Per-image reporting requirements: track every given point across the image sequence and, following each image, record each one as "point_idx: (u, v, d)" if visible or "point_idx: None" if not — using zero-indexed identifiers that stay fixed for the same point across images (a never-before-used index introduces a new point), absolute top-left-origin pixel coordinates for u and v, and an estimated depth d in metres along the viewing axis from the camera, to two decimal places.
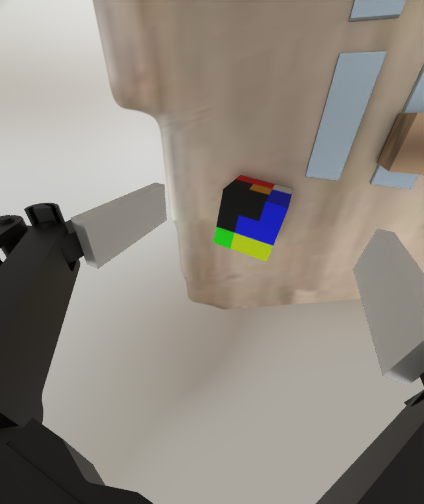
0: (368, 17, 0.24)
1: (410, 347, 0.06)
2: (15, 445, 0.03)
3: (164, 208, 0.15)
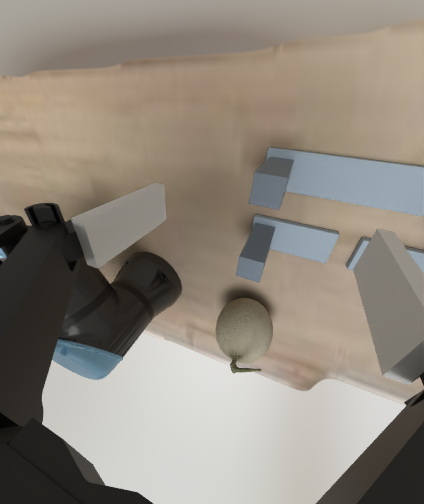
0: None
1: (410, 347, 0.06)
2: (15, 445, 0.03)
3: (164, 208, 0.15)
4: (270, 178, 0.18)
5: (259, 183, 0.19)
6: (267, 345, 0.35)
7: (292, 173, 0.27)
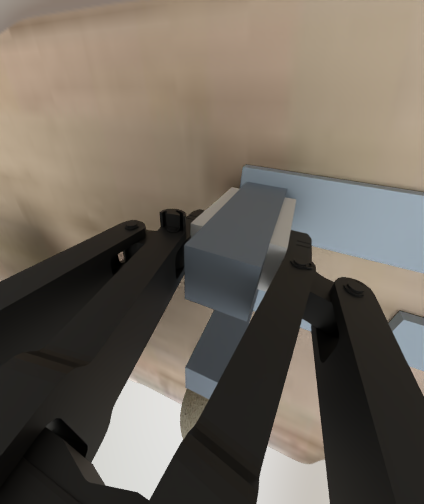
0: None
1: (264, 262, 0.09)
2: None
3: None
4: (221, 262, 0.08)
5: (198, 267, 0.08)
6: None
7: None
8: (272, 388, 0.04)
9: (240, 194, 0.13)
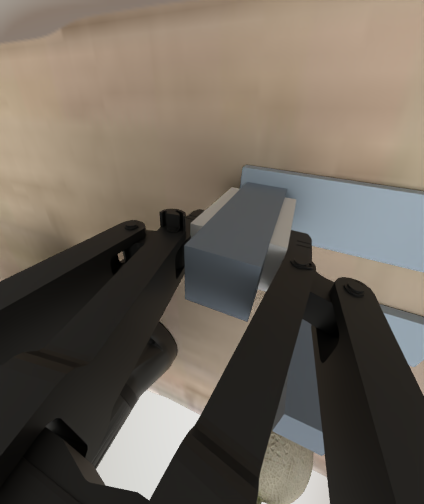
0: None
1: (265, 262, 0.09)
2: None
3: None
4: (221, 262, 0.08)
5: (198, 267, 0.08)
6: (308, 479, 0.22)
7: None
8: (272, 388, 0.04)
9: (240, 194, 0.13)
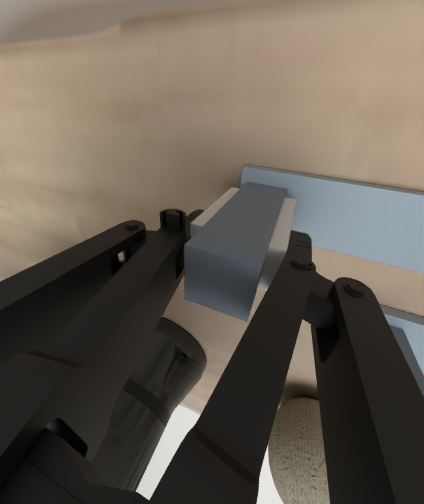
0: None
1: (264, 262, 0.09)
2: None
3: None
4: (221, 262, 0.08)
5: (198, 267, 0.08)
6: None
7: None
8: (272, 388, 0.04)
9: (240, 194, 0.13)
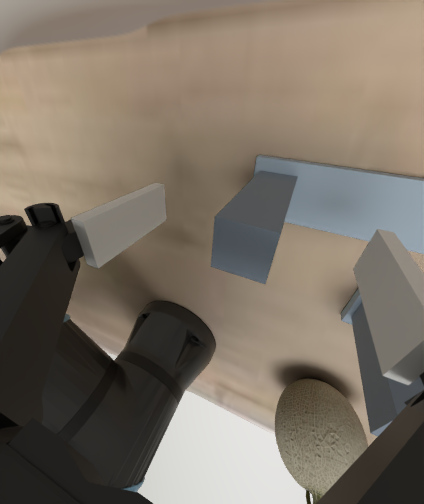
0: None
1: (410, 347, 0.06)
2: (15, 445, 0.03)
3: (164, 208, 0.15)
4: (246, 230, 0.09)
5: (225, 236, 0.10)
6: None
7: (294, 196, 0.17)
8: None
9: (255, 180, 0.15)
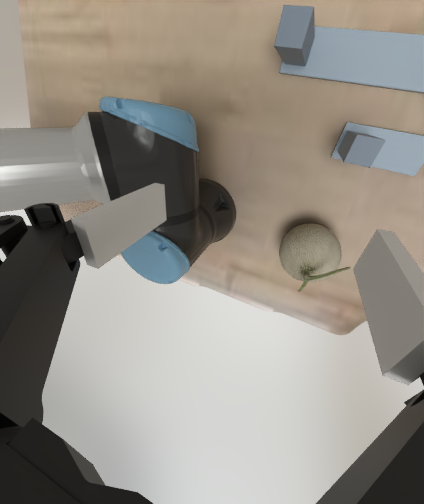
0: None
1: (410, 347, 0.06)
2: (15, 445, 0.03)
3: (164, 208, 0.15)
4: (298, 10, 0.21)
5: (286, 18, 0.21)
6: (339, 262, 0.35)
7: (311, 53, 0.29)
8: None
9: None
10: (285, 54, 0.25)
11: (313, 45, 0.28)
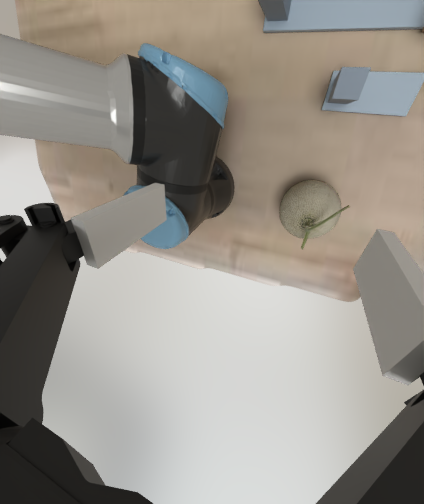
0: (413, 100, 0.30)
1: (410, 347, 0.06)
2: (15, 445, 0.03)
3: (164, 207, 0.15)
4: None
5: None
6: (339, 212, 0.35)
7: (291, 6, 0.30)
8: None
9: None
10: (266, 3, 0.26)
11: None
